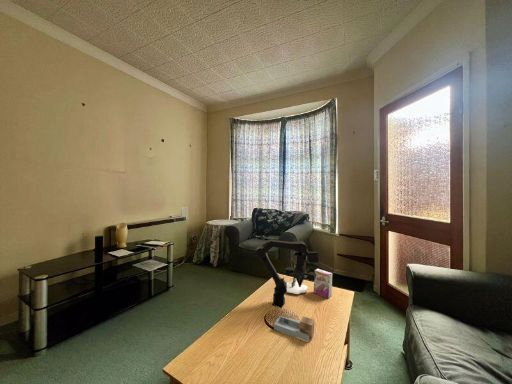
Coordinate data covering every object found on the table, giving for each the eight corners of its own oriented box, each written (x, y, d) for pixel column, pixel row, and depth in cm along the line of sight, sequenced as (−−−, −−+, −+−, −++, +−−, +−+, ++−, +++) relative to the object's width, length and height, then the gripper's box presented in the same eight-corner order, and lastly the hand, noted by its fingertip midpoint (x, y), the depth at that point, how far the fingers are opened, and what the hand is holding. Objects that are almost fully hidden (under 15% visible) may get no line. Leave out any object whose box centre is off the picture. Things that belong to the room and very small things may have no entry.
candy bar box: (313, 293, 150) (314, 270, 149) (316, 290, 153) (317, 268, 153) (328, 299, 142) (329, 275, 142) (331, 296, 146) (332, 272, 145)
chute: (274, 329, 111) (274, 324, 111) (280, 320, 119) (280, 315, 119) (308, 342, 103) (308, 336, 103) (312, 331, 111) (312, 326, 110)
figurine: (301, 297, 142) (303, 272, 143) (277, 290, 152) (278, 266, 152) (311, 288, 158) (312, 266, 159) (289, 282, 168) (290, 261, 169)
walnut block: (299, 335, 107) (299, 321, 107) (302, 329, 111) (302, 316, 111) (311, 339, 104) (312, 325, 104) (313, 333, 108) (314, 319, 108)
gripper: (281, 263, 130) (281, 288, 131) (312, 269, 121) (311, 296, 122) (288, 257, 140) (287, 281, 141) (317, 263, 131) (316, 288, 132)
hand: (299, 286), depth 134 cm, fingers closed
